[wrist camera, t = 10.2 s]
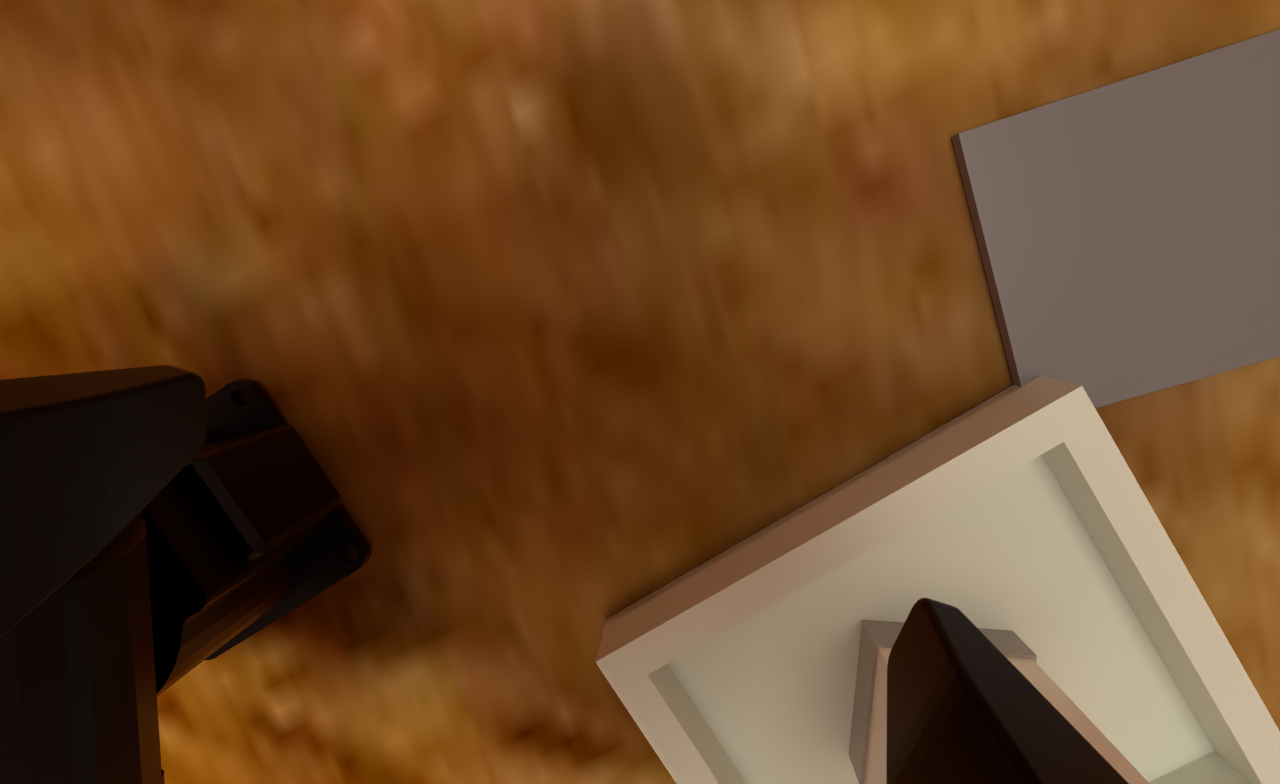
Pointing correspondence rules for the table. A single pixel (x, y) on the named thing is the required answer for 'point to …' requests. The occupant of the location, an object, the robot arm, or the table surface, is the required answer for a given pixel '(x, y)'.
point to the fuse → (872, 701)
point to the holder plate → (1136, 225)
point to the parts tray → (956, 575)
